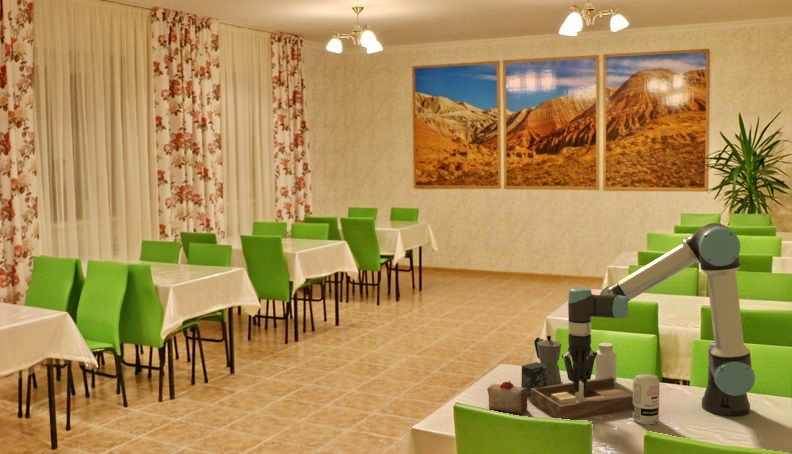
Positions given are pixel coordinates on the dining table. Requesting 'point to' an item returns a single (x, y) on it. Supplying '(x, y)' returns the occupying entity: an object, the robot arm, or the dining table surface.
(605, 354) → the pill bottle
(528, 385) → the box
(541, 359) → the coffeepot
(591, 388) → the divided wooden tray
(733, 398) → the robot arm
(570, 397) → the block
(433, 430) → the dining table surface
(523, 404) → the food item
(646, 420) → the supplement can
